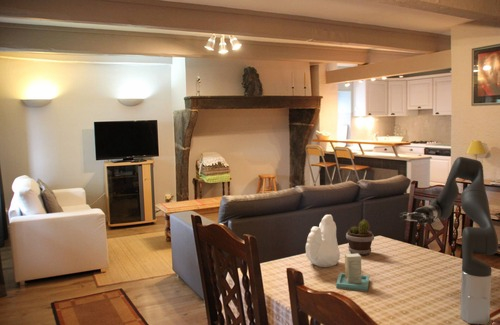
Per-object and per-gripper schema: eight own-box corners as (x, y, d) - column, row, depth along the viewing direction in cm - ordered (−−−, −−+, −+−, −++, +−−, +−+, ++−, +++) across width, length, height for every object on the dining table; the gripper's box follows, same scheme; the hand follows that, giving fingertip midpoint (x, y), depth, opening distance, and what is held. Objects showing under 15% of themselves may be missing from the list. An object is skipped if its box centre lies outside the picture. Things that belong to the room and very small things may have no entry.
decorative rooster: (322, 256, 222) (322, 210, 219) (347, 264, 210) (347, 215, 207) (289, 267, 206) (289, 217, 203) (314, 276, 194) (314, 223, 191)
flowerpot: (340, 250, 231) (340, 214, 229) (364, 247, 236) (365, 212, 234) (354, 258, 218) (354, 220, 216) (379, 255, 222) (380, 218, 220)
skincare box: (358, 279, 187) (359, 253, 186) (361, 283, 182) (362, 256, 181) (344, 280, 186) (344, 253, 185) (347, 284, 182) (347, 256, 181)
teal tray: (367, 291, 176) (367, 286, 176) (336, 288, 180) (336, 283, 180) (369, 280, 188) (369, 275, 188) (339, 277, 192) (339, 272, 192)
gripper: (410, 204, 197) (394, 209, 186) (442, 208, 187) (427, 214, 176) (410, 220, 198) (394, 226, 187) (441, 224, 188) (426, 232, 177)
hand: (410, 220), depth 181 cm, fingers open, 8 cm apart
